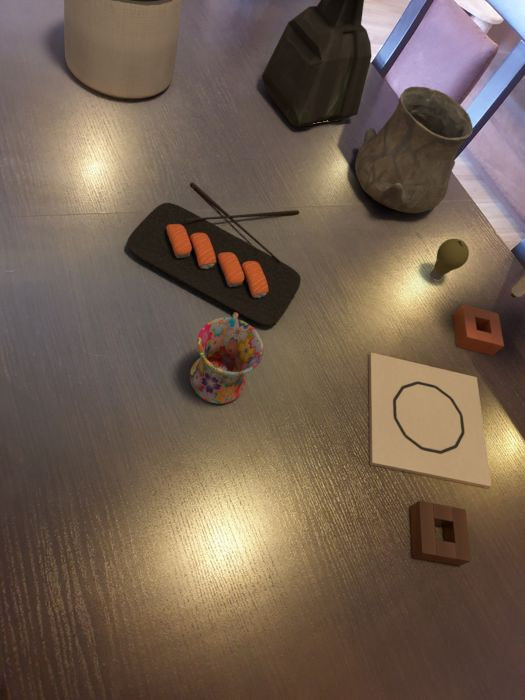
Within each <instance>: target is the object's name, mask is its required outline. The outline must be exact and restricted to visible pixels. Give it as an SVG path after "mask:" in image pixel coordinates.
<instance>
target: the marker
mask: <svg viewBox="0 0 525 700" xmlns="http://www.w3.org/2000/svg"><path fill="white" fill-rule="evenodd" d="M510 292H511V293H510V296H511V298H513V299H514V298H516V297H517V298H521V297H523V295H525V275H523V276H522V278H521V279H520V280H518V282H517V283H515V284H514V285H513V287H511V291H510Z"/></svg>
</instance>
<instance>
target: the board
mask: <svg viewBox="0 0 525 700" xmlns="http://www.w3.org/2000/svg"><path fill="white" fill-rule="evenodd" d="M480 398H481V397H480V390H479V383H478V377H477V376H474V375H468V374H465V373H461V372H456V371H453V370H449V369H444V368H439V367H435V366H431V365H427V364H423V363H418V362H413V361H410V360H405V359H401V358H397V357H393V356H388V355H383V354H380V353H375V352H370V353H369V354H368V421H369V422H368V424H369V425H368V426H369V427H368V430H369V432H368V433H369V434H368V435H369V437H368V438H369V465H370V466H373V467H374V466H375V467H379V468H384V469H389V470H395V471H399V472H404V473H409V474H413V475H417V476H424V477H428V478H434V479H438V480H444V481H449V482H454V483H459V484H465V485H469V486H474V487H478V488H483V489H489V488H491V487H492V480H491V472H490V465H489V458H488V450H487V442H486V436H485V435H486V434H485V427H484V422H483V421H484V420H483V414H482V413H483V412H482V405H481V399H480Z"/></svg>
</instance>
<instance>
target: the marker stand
mask: <svg viewBox="0 0 525 700" xmlns="http://www.w3.org/2000/svg"><path fill="white" fill-rule="evenodd" d="M409 518H410V519H409V520H410V533H411V534H410V538H411V540H410V541H411V557H412V558H413V559H418V560H423V561H429V562H435V563H439V564H440V563H441V564H447V565H453V566H463V565H465V564H468V563H471V562H472V558H471V548H470V539H469V529H468V521H467V511H466V508H459V507H455V506H450V505H445V504H440V503H436V502H435V503H434V502H428V501H424V500H418V501H416V502H414V503H413V504H412V505H410V506H409ZM436 527H440V528H442V532H443V533H442V535H443V540H440V539H436V538H437V537H436Z"/></svg>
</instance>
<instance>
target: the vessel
mask: <svg viewBox="0 0 525 700" xmlns="http://www.w3.org/2000/svg"><path fill="white" fill-rule="evenodd" d="M473 130H474V127H473V122H472V120H471V117H470V115H469V113H468V112H467V111H466V109H464V107H463V106H462V105H461V104H460V103H458V102H457V101H456V100H455V99H454V98H453V97H451V96H449V95H448V94H446V93H445V92H442V91H440V90H437V89H433V88H430V87H426V86H409V87H406V88H405V89H404V90H403V91H402V92H401V94H400V96H399V100H398V102H397V106H396V108H395V110H394V112H393V113H392V115H391V116H390V117H389V119H388V120H387V121H386V122H385V124H384V125H383V126H382V127H381V128H380V130H379V131H377V132H376V129H375V128H373V127H370V128H369V129H367V130H366V131H365V132H364V137H363V138H364V139H363V143H362V144H361V147H360V148H359V150H358V152H357V155H356V157H355V164H354V169H355V175H356V177H357V180H358V182H359V185H360V187H361V189H362V190H363V191H364V193H366V194H367V195H368V196H369V197H370V198H371V199H373V200H374V201H375V202H378V203H379V204H381V205H382V206H384V207H387V208H389V209H392V210H395V211H398V212H401V213H402V212H403V213H406V214H407V213H408V214H418V213H419V214H420V213H425V212H428V211H430V210H433V209H434V208H436V207H437V206H438V205H440V204H441V202H442V201H443V200H444V199H445V197H446V195H447V191H448V189H449V188H448V187H449V182H450V180H451V175H452V171H453V169H454V167H455V165H456V161H455V159H456V156H457V154H458V151H459V149H460V147H461V146H462V145H463V144H464V142H466V140H467V139H469V138H470V137H471V136H472V134H473Z"/></svg>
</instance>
